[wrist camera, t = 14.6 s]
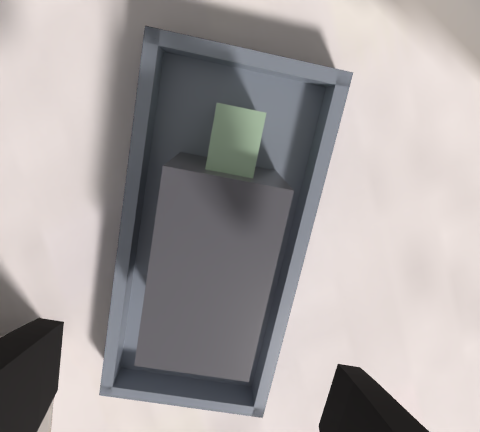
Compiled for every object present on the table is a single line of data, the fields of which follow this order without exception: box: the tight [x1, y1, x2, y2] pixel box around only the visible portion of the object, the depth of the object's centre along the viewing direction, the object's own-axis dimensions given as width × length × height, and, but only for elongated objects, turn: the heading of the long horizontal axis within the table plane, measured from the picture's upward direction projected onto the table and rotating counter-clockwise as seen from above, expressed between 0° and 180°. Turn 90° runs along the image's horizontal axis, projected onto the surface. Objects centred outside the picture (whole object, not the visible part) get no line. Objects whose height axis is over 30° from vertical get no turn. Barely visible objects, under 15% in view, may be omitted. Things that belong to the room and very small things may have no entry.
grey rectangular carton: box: [134, 103, 294, 382], centre depth 16 cm, size 10×5×5 cm, turn 169°
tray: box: [99, 26, 353, 418], centre depth 18 cm, size 9×18×2 cm, turn 169°
